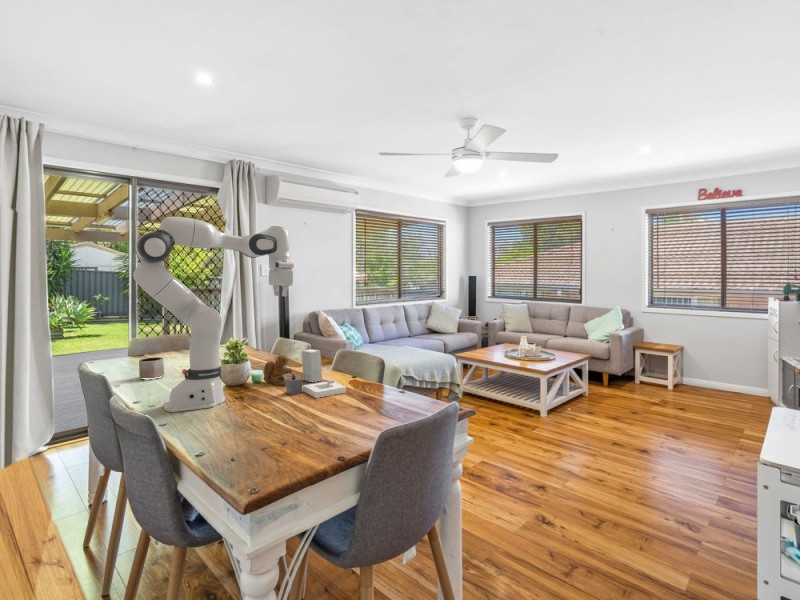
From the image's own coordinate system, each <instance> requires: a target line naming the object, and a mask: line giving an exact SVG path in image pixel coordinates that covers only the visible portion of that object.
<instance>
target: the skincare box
mask: <svg viewBox="0 0 800 600" xmlns="http://www.w3.org/2000/svg"><path fill="white" fill-rule="evenodd" d="M301 360H302V362H301V363H302V375H303V377H302V378H303V380H302V381H304V380H305V381H304V382H309V383H311V382H312V383H311V384H314V383H318V382H317V381H319V382H322V381H323V374H322V357H321V350H319V349H313V348H312V349H305V350H301ZM321 380H322V381H321ZM313 382H314V383H313Z"/></svg>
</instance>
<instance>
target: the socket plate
mask: <svg viewBox="0 0 800 600" xmlns="http://www.w3.org/2000/svg"><path fill="white" fill-rule="evenodd" d="M302 392H304V393H306V394H307V393H308V394H307V395H309V394H310V396H312V397H313V398H315V399H320V397H321V398H326V397H331V396H336V395H335V394H337V395H340V394H341V393H342V394H346V393H347V387H346V386H344V385H342V384H340V383H338V382H336V381H335V380H333V379H327V380H326V381H323V382H322V381H320V382H314V383H310V384H304V385H303V384H302ZM342 394H341V395H342ZM330 395H331V396H330ZM325 396H326V397H325Z"/></svg>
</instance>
